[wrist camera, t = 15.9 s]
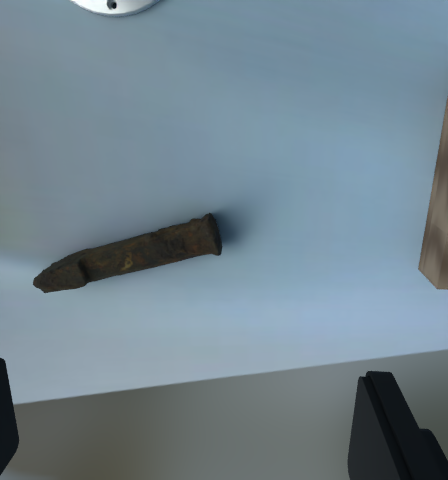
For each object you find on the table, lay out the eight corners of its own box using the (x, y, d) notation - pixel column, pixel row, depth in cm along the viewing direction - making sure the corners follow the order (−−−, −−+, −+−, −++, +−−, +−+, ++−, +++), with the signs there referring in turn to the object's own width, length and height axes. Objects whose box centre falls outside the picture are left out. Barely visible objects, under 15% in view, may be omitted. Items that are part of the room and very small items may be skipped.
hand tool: (215, 206, 41) (211, 220, 37) (225, 245, 42) (222, 262, 38) (35, 246, 44) (11, 262, 39) (49, 281, 45) (27, 301, 41)
